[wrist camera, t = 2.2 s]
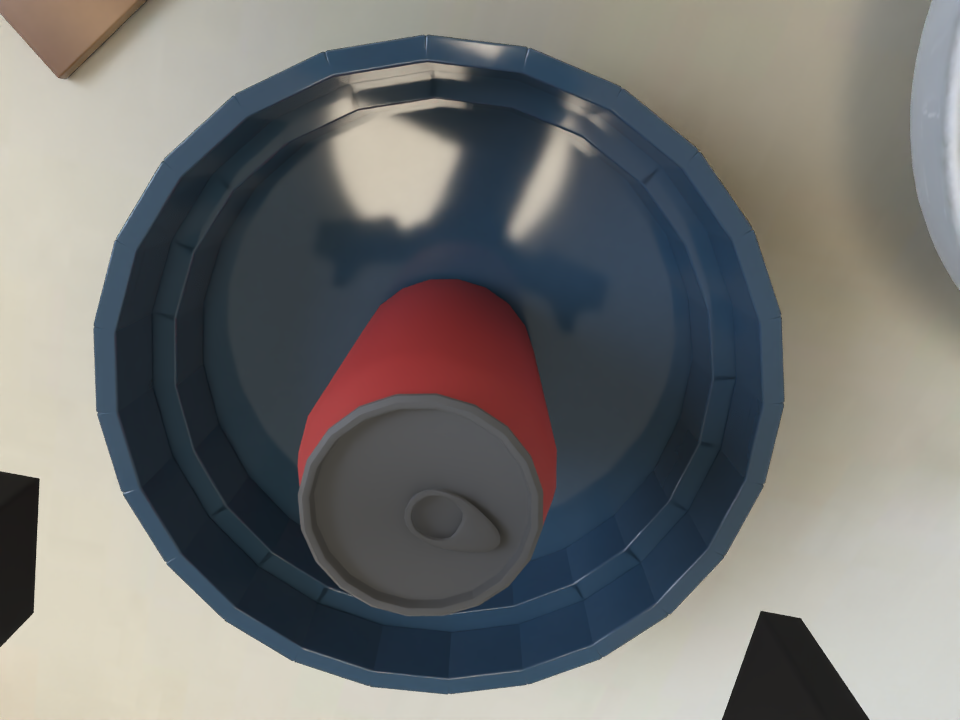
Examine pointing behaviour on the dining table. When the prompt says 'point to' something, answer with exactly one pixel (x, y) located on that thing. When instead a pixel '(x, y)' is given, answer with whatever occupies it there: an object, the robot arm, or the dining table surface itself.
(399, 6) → the dining table surface
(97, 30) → the wooden cutting board
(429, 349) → the beer can
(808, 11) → the dining table surface
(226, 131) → the blue bowl
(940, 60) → the serving bowl
